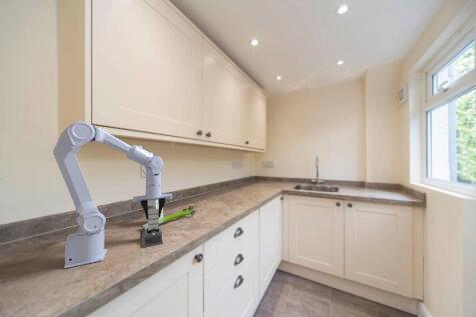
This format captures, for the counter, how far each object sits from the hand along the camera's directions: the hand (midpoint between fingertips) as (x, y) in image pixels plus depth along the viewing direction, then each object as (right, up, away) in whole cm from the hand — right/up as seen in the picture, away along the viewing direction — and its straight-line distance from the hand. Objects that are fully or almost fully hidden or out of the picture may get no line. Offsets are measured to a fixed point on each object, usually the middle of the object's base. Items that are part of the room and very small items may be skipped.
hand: (153, 217), depth 75 cm
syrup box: (-8, -9, +19) cm, 22 cm away
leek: (0, -9, +20) cm, 22 cm away
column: (0, -5, 0) cm, 5 cm away
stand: (-1, -9, +1) cm, 9 cm away
